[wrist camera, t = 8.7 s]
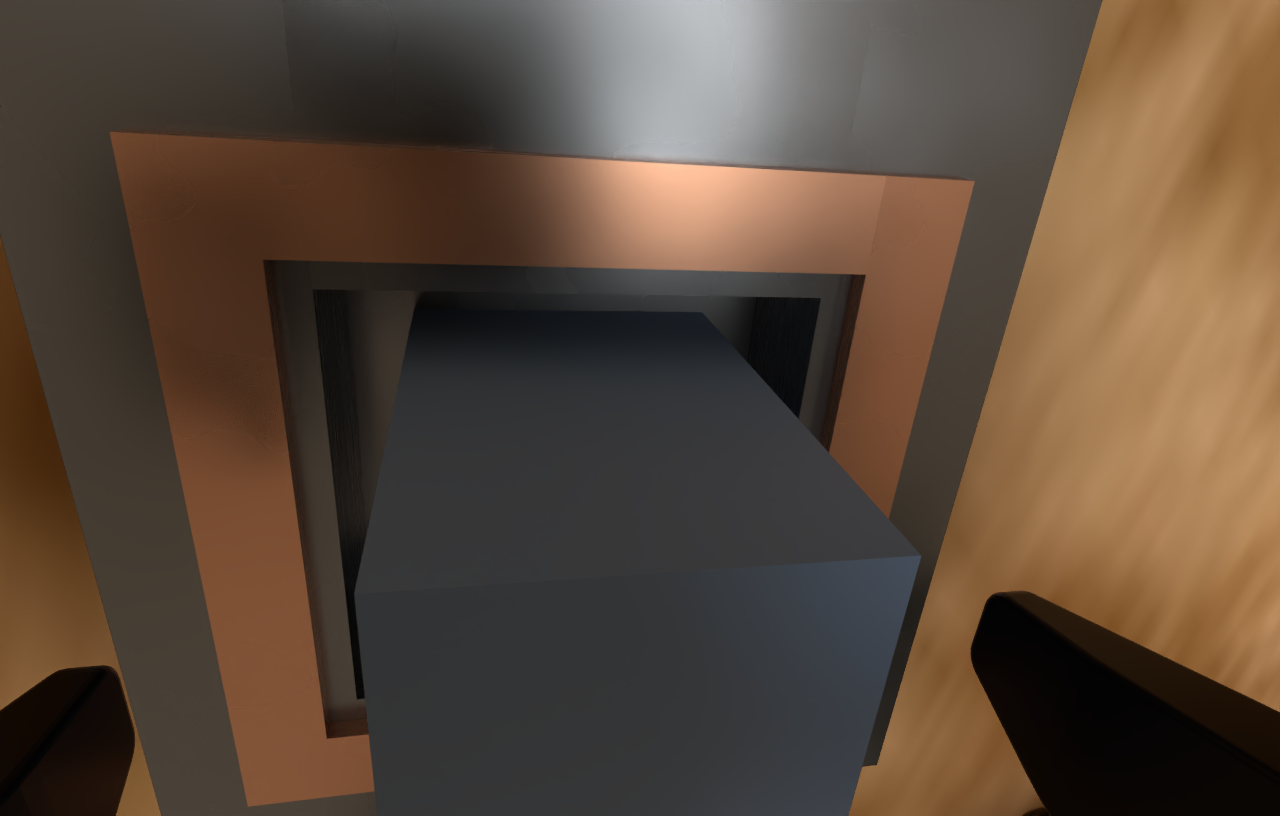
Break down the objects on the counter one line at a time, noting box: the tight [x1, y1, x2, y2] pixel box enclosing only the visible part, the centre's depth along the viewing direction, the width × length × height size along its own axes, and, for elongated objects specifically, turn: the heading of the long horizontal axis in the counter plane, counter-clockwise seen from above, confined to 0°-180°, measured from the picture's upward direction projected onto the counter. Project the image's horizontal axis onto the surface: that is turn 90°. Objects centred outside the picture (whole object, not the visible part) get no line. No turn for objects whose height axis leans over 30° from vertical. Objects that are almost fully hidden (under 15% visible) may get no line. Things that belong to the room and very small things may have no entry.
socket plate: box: [0, 0, 1102, 816], centre depth 9 cm, size 24×12×3 cm, turn 175°
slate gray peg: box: [354, 309, 921, 816], centre depth 9 cm, size 4×4×6 cm
